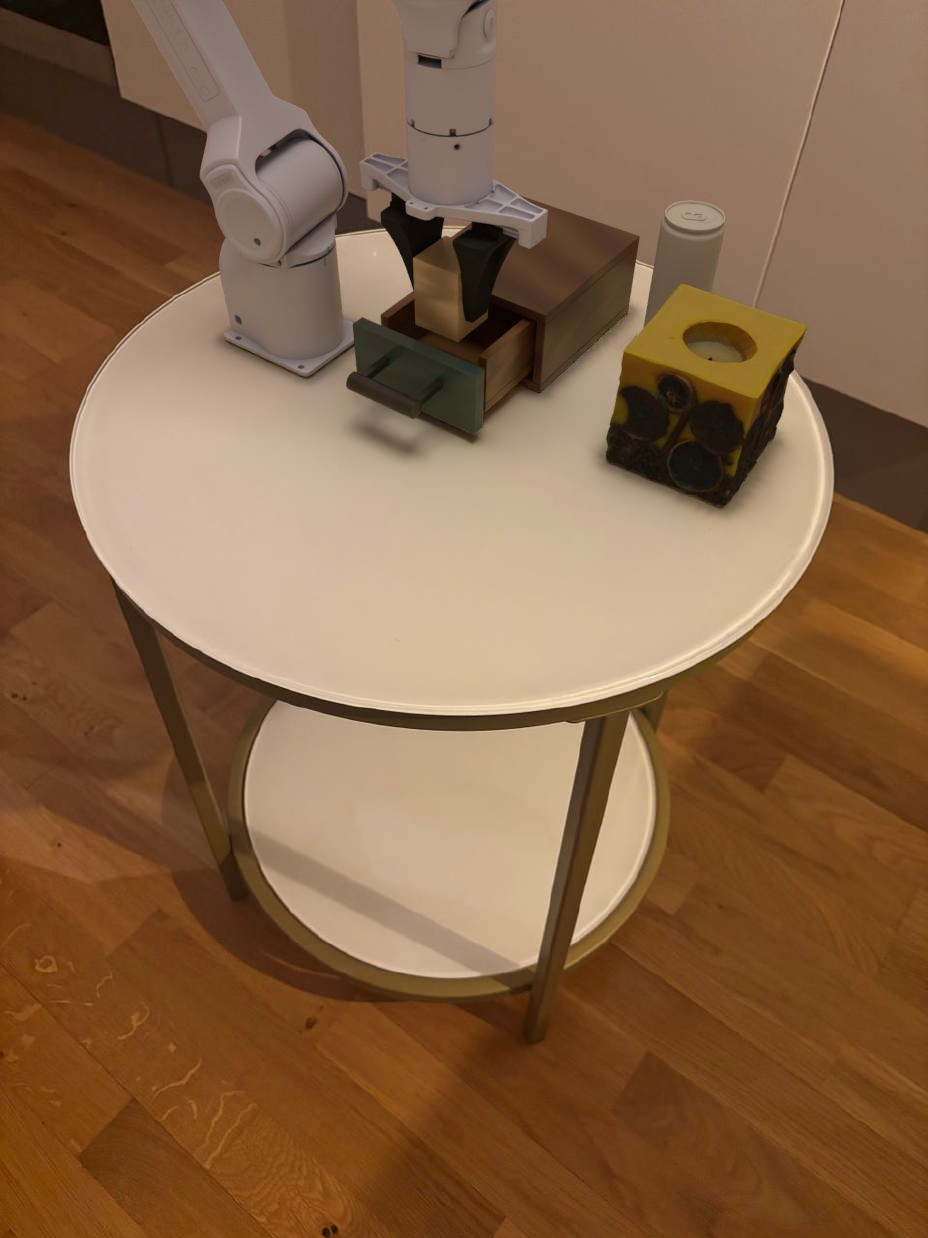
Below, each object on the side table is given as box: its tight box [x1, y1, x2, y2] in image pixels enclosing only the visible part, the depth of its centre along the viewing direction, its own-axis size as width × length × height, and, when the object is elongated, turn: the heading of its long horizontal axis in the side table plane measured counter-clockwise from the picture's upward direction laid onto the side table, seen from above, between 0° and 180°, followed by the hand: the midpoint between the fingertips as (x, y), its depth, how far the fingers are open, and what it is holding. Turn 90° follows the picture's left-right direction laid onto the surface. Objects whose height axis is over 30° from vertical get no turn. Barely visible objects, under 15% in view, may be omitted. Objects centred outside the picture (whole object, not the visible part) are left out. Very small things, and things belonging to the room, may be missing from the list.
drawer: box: [345, 290, 537, 436], centre depth 76 cm, size 18×11×5 cm, turn 145°
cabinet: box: [450, 194, 641, 393], centre depth 82 cm, size 15×13×7 cm
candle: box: [605, 284, 808, 508], centre depth 70 cm, size 10×10×10 cm
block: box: [413, 235, 488, 342], centre depth 72 cm, size 4×4×6 cm
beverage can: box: [642, 199, 727, 329], centre depth 78 cm, size 5×5×12 cm
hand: (450, 305), depth 73 cm, fingers closed on block, 4 cm apart
